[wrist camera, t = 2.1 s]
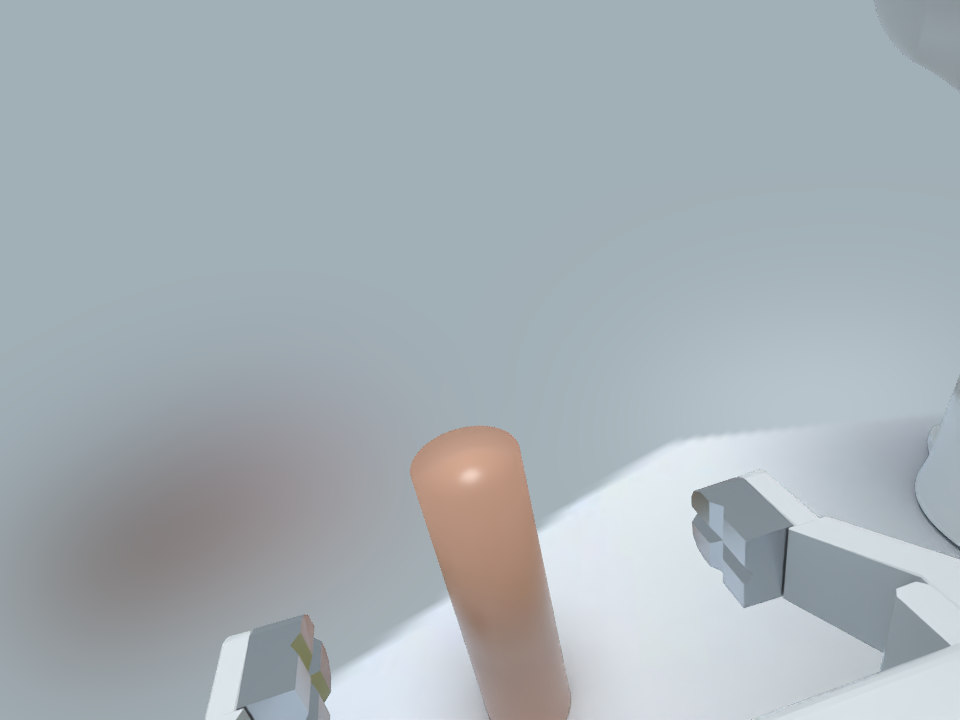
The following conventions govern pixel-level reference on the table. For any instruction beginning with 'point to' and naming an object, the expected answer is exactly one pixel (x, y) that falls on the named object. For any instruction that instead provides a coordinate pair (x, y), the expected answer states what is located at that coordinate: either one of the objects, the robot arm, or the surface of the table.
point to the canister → (494, 569)
